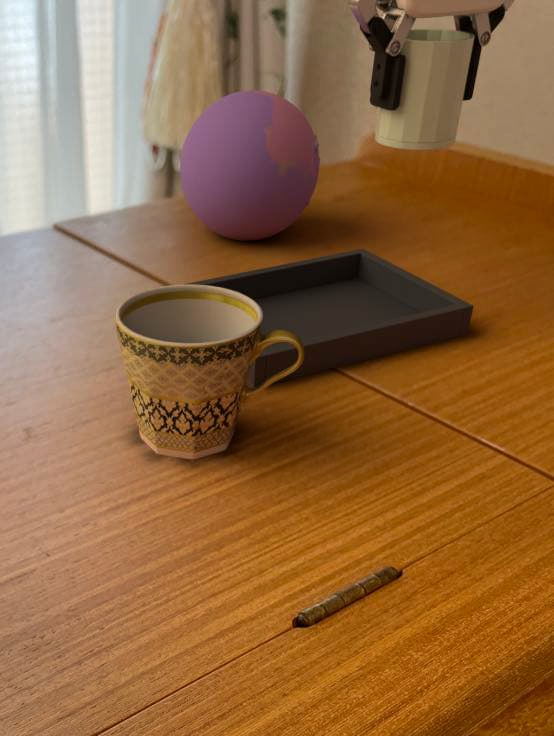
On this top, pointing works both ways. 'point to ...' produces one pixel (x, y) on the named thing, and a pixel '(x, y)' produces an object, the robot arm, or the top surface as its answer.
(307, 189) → the decorative ball
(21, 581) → the top surface
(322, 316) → the dark grey tray
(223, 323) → the ceramic cup
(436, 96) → the mug
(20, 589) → the top surface
